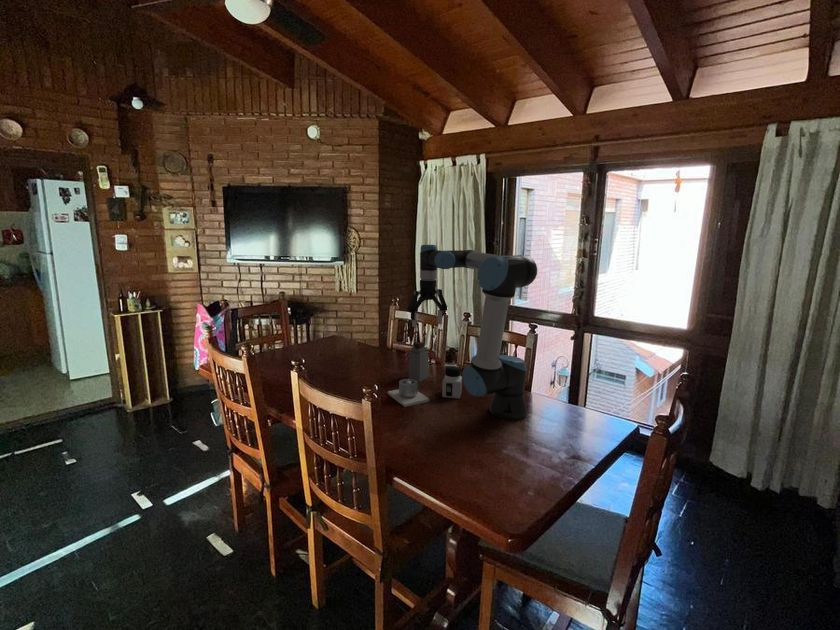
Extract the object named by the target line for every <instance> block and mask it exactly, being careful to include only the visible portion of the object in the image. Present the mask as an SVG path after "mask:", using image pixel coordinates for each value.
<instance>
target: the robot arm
mask: <svg viewBox="0 0 840 630" xmlns="http://www.w3.org/2000/svg"><path fill="white" fill-rule="evenodd" d="M419 266H420V267H419V290H413V291H412V292H413V295H412V296H411V299H410V302H409V303H408V306H407V308H406V311H407V312H409V313H410V320H411V326H412V327H413V328H417V326H418V325H417V322H418V321H417V320H418V318H417V316H418V315H417V311H418V309H419V308H420V306H421V305H422V303H424V302H425V301H433V302H434V304H435V305H436V306H437V308H438V309H437V324H438V325H443V317H444V314H445V311H446V309H448V304H447V302H446V300H445V297H444V295H443V289H440V288H437V274H438V273H437V271H438V269H440V270H450V269H457V268H465V269H471V270H476V271H477V280H478V284H479V286H480V287H481V289H482V290H481V291H482V292H481V293H483V295H484V296H485V297H484V304H483V311H482V314H481V316H482V317H481V322H480V329H479V335H478V340H477V341H478V342H477V348H476V353H475V355H473V356H472V357H471V359H470V365H469V366H466V367H465V368H463V370H462V383H463V385H464V388H465V389H466V390H467V392H468V393H469V394H470V395H472V396H474V397H484V396H486V395H487V396H488V395H491V394H493V396H492V400H491V402H490V403H489V409H488V410H489V412H490V413H491V415H492V416H494V417H496V418H500V419H503V420H511V421H513V420H514V421H515V420H516V421H517V420H521V419H524V418H525V417H527V416H528V406H527V402H526V397H525V390H526V389H525V387H526V386H525V385H526V377H527V374H526V373H527V362H526V360H525V359H523V358H520V357H517V356H513V355H509V354H507V355H506V354H500V353H501V350H502V349H501V348H502V344H503V343H502V342H503V338H504V332H505V326H506V322H507V316H508V310H509V305H510V300H511V299H513V298H515V295H516V290H517V288H518V289H520V288H525V287H527V286H530V285H532V284H533V283H534V281H535V279H536V278H537V276H538V267H537V263H536V261H535V260H534V259H533V258H532V257H530V256H529V255H528V256H527V255H524V254H518V255H513V254H511V255H499V254H498V255H497V254H492V253H486V252H480V251H479V252H478V251H477V250H475V249H467V250H465V249H463V250H462V249H461V250H457V249H456V250H438V245H437V244H421V245H420V252H419ZM436 294H437V296H436ZM437 297H438V298H437Z"/></svg>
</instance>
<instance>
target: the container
mask: <svg viewBox="0 0 840 630" xmlns="http://www.w3.org/2000/svg"><path fill="white" fill-rule="evenodd" d="M444 374H445V375H444V378H443V379H442V390H441V391H442V393H441V394H442V396H441V397H443V398H452V399H460V398H461V395H462V392H463V391H462V387H463V386H462V385H463V375H462V376H461V367H459V366H458V365H447V366H446V367H445V371H444Z"/></svg>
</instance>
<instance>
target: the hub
mask: <svg viewBox="0 0 840 630" xmlns="http://www.w3.org/2000/svg"><path fill="white" fill-rule="evenodd" d="M406 381H411V384H406ZM418 384H419V383H418V381H416V380H414V379H409V378H404V379H400V380H399V382H398V389H399V394H400V395H402V396H415V395H417V391H418V388H419V387H418Z"/></svg>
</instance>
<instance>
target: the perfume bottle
mask: <svg viewBox="0 0 840 630" xmlns="http://www.w3.org/2000/svg"><path fill="white" fill-rule="evenodd" d="M413 344H414V346H412V347H411V348H410V349H411V351H408V379H414V380H416V381H418V382H419V383H420V382H422V381H424V380H427V379H429V351H427V347H426V346H424V344H425V343H424V342H422V341H421V342H420V341H416V342H414V343H413Z"/></svg>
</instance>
